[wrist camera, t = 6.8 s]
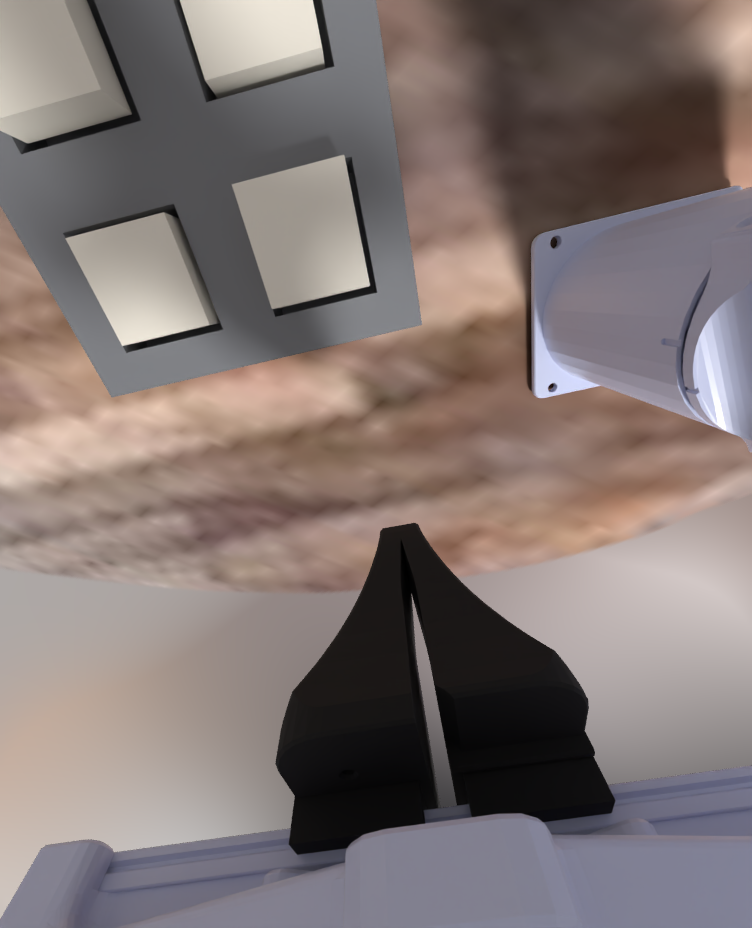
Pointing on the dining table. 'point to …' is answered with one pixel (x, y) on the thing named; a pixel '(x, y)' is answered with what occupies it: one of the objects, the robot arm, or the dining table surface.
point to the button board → (217, 190)
